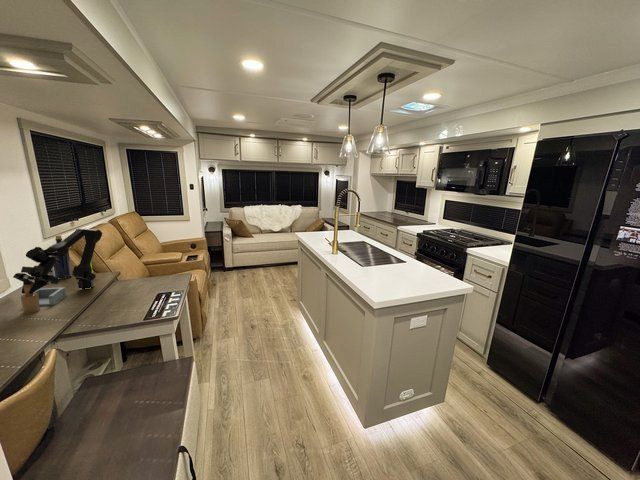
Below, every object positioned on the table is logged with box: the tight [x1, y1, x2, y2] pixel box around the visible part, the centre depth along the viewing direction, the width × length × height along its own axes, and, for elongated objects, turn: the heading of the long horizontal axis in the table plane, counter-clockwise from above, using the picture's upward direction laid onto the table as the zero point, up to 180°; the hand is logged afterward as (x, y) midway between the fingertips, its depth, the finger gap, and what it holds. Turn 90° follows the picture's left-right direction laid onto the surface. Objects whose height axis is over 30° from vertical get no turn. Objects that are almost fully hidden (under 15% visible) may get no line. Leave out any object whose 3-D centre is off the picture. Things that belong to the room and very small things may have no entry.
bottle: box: [51, 234, 73, 279], centre depth 179 cm, size 9×9×30 cm
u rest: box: [34, 287, 67, 307], centre depth 147 cm, size 12×13×6 cm
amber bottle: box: [20, 283, 41, 315], centre depth 135 cm, size 6×6×15 cm
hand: (26, 293), depth 133 cm, fingers closed on amber bottle, 3 cm apart
